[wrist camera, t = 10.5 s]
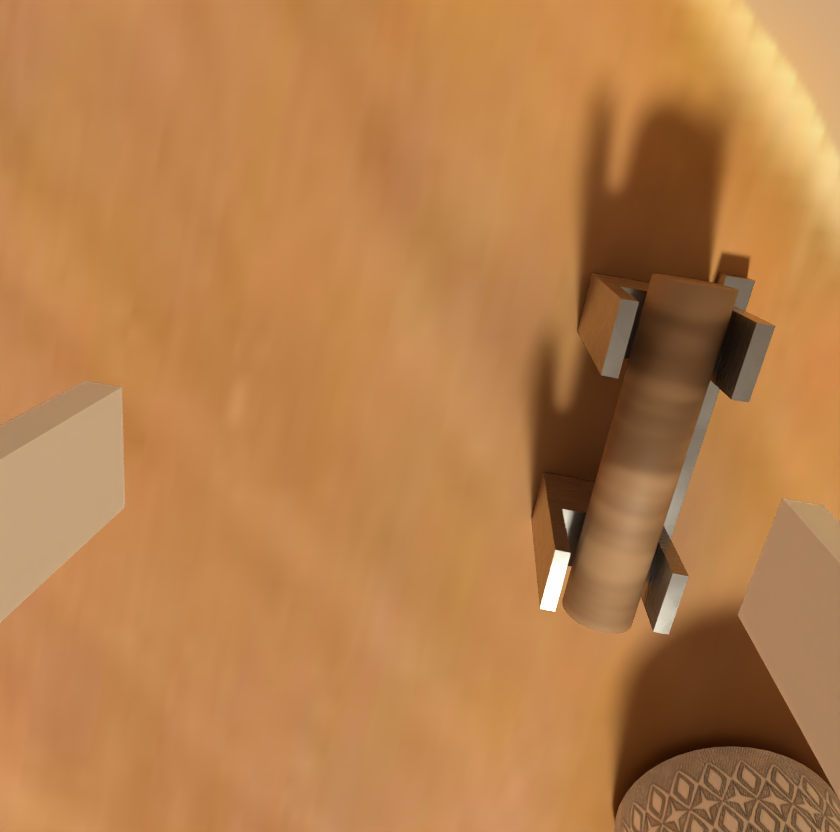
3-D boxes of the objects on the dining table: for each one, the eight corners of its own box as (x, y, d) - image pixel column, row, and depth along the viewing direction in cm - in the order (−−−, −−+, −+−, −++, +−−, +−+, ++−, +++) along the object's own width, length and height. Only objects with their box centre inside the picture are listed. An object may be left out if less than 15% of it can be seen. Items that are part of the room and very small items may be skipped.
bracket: (596, 252, 39) (628, 271, 29) (747, 278, 38) (828, 306, 29) (527, 535, 45) (534, 627, 35) (656, 561, 44) (698, 660, 35)
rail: (656, 271, 34) (647, 276, 31) (739, 287, 33) (739, 294, 29) (571, 582, 41) (555, 614, 37) (636, 606, 39) (626, 643, 36)
